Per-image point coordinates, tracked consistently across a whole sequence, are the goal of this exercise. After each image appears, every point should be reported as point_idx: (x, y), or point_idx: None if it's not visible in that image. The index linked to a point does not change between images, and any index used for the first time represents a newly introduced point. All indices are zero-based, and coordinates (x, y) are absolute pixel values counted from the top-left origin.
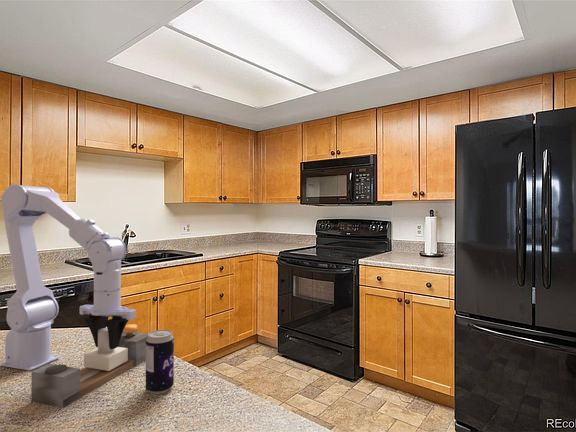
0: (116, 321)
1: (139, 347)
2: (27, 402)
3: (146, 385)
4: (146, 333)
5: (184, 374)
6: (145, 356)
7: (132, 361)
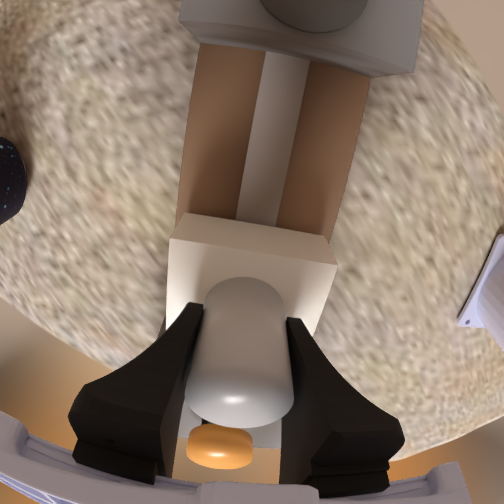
0: (69, 416)
1: None
2: None
3: (3, 144)
4: None
5: (9, 270)
6: None
7: None
